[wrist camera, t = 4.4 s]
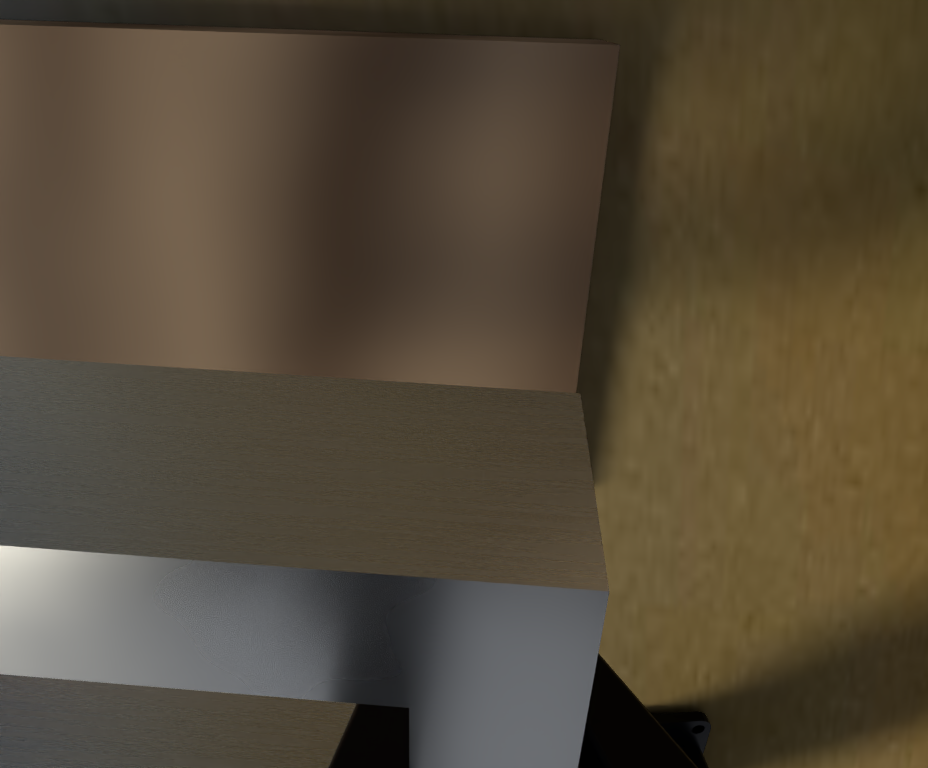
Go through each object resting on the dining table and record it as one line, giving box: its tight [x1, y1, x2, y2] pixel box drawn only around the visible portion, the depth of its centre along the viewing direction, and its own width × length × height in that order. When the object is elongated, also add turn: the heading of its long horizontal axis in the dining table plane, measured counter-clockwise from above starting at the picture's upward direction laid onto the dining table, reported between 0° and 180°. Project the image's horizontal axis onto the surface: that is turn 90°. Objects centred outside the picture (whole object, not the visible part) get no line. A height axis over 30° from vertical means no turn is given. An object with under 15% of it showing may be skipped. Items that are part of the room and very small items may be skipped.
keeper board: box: [0, 19, 620, 393], centre depth 18 cm, size 24×13×2 cm, turn 88°
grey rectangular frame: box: [0, 356, 609, 768], centre depth 9 cm, size 12×7×3 cm, turn 88°
